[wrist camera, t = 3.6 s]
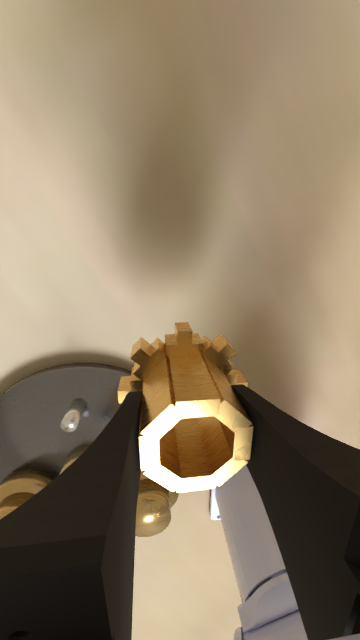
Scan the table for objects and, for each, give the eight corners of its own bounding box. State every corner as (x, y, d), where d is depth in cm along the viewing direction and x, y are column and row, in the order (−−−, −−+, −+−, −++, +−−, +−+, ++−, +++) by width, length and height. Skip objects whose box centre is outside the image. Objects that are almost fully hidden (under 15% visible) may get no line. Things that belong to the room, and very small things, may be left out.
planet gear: (242, 320, 13) (295, 362, 8) (234, 421, 15) (272, 503, 10) (116, 324, 12) (93, 374, 7) (125, 431, 14) (112, 523, 9)
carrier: (188, 357, 21) (198, 385, 16) (187, 511, 26) (194, 563, 22) (-46, 369, 19) (-106, 405, 14) (5, 534, 24) (-26, 596, 20)
